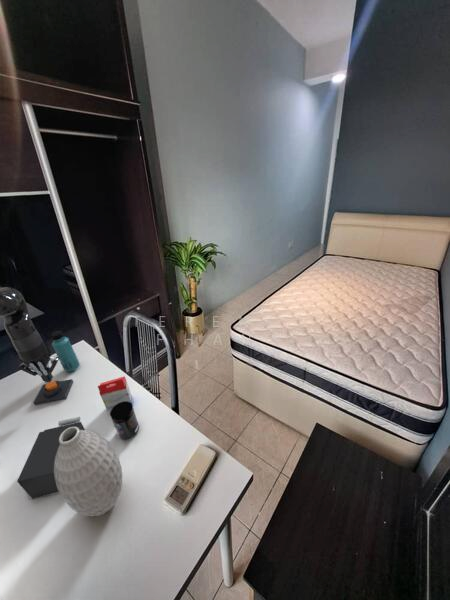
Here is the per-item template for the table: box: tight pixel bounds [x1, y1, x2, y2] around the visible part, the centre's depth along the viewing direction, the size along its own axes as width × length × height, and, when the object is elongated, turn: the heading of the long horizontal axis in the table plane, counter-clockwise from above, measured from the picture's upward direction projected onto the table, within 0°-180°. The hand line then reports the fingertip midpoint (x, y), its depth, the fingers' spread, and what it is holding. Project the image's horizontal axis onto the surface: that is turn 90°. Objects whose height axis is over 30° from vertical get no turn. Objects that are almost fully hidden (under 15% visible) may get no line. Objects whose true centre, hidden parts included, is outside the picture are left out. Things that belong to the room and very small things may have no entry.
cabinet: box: [16, 422, 85, 500], centre depth 71 cm, size 14×12×9 cm
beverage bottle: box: [50, 330, 80, 372], centre depth 105 cm, size 6×7×20 cm
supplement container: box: [109, 401, 140, 440], centre depth 80 cm, size 7×7×10 cm
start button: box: [45, 380, 57, 391], centre depth 97 cm, size 4×4×2 cm
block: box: [32, 378, 74, 406], centre depth 98 cm, size 11×9×4 cm
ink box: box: [97, 376, 134, 416], centre depth 88 cm, size 8×5×15 cm, turn 111°
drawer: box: [43, 416, 86, 431], centre depth 75 cm, size 17×10×7 cm, turn 13°
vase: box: [54, 427, 124, 517], centre depth 59 cm, size 13×13×28 cm
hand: (49, 380), depth 92 cm, fingers closed
